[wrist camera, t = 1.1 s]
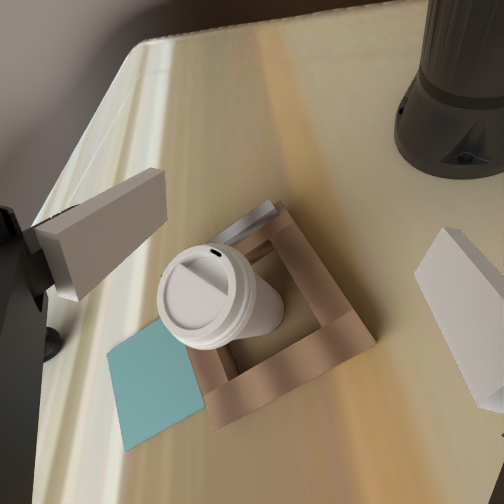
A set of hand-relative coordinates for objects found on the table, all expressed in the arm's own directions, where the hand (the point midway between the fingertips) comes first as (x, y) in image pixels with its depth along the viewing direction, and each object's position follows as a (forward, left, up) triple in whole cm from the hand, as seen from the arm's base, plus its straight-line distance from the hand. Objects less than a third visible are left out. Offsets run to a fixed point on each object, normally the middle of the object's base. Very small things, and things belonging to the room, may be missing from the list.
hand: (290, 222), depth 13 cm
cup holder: (+10, -4, -22) cm, 24 cm away
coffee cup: (+10, -4, -22) cm, 24 cm away
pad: (+29, -4, -22) cm, 36 cm away
